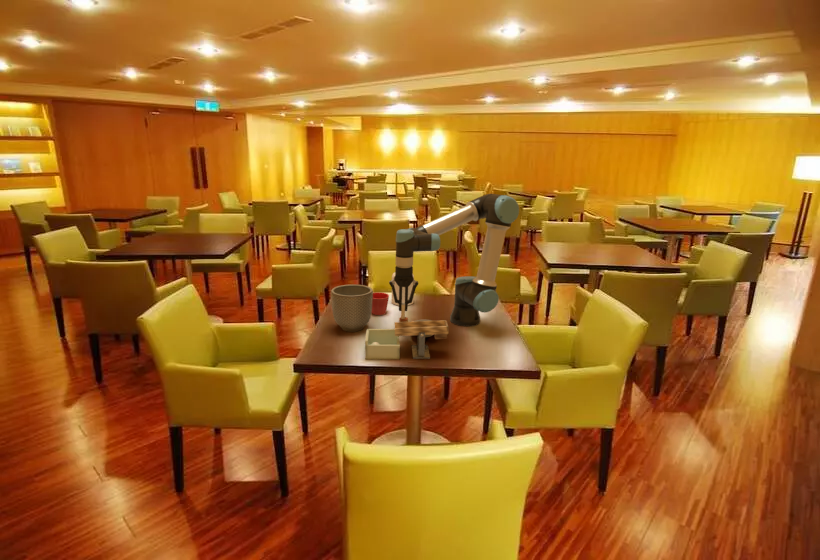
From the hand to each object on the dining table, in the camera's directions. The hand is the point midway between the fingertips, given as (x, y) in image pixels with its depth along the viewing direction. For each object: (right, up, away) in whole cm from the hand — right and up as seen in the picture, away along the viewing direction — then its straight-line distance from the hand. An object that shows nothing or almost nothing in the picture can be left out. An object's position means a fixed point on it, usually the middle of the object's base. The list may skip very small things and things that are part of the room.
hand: (402, 317), depth 199 cm
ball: (-11, -11, -10) cm, 19 cm away
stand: (+8, -14, -8) cm, 18 cm away
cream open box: (-8, -14, -9) cm, 19 cm away
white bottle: (-1, +4, +56) cm, 56 cm away
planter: (-24, -7, +17) cm, 31 cm away
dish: (+10, -10, +9) cm, 17 cm away
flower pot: (-13, -1, +39) cm, 41 cm away
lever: (+8, -6, -5) cm, 11 cm away
